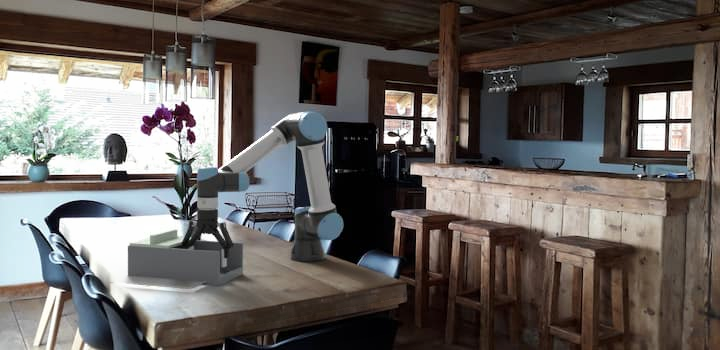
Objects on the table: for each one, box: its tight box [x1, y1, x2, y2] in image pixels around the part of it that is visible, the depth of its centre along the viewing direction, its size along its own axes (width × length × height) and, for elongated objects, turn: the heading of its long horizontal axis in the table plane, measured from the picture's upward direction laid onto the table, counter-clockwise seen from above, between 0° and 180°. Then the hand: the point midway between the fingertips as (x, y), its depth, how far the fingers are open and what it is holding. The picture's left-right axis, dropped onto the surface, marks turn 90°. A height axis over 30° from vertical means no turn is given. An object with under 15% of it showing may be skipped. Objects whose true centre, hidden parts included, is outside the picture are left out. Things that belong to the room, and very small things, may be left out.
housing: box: [127, 239, 244, 287], centre depth 221 cm, size 37×20×12 cm, turn 76°
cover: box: [129, 229, 193, 249], centre depth 223 cm, size 16×20×4 cm
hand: (207, 265), depth 219 cm, fingers open, 13 cm apart
